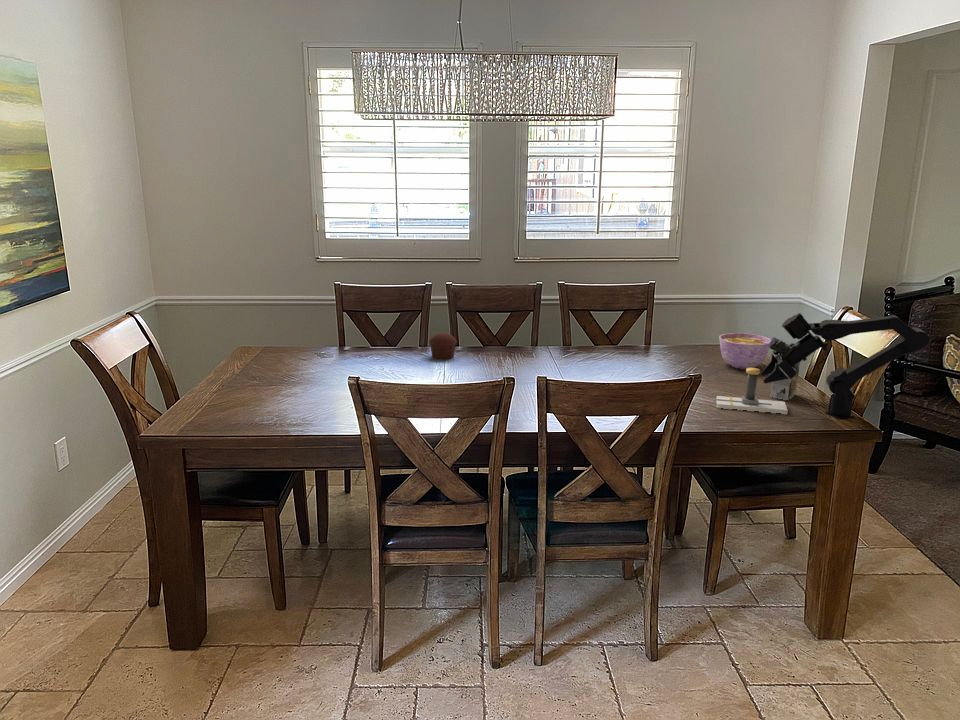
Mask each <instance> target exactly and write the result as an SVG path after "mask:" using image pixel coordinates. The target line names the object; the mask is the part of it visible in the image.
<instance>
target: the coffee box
mask: <svg viewBox="0 0 960 720" xmlns="http://www.w3.org/2000/svg"><path fill="white" fill-rule="evenodd" d="M800 363H801V362H800ZM800 363H798V364H797V365H796V368H794V369H795V370H796V376H795V377H793V378H792V379H790V378H789V379H784V380H779V381H774V382H771V390H770V395H769V396H770V398H772V397H773V399H777V398H778V399H777V400H781V399H783V400H782V401H786V400H788V401H790V400H791V399H792V398H794V395H795V396H796V394H797V387H798V381H799V379H798V378H799V372H800V371H799V370H800V365H801V364H800ZM789 399H790V400H789Z"/></svg>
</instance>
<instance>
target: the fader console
mask: <svg viewBox="0 0 960 720" xmlns="http://www.w3.org/2000/svg"><path fill="white" fill-rule="evenodd" d="M715 401H716V409H721V408H723V410H724V409H725V410H732V409H737V410H736V411H743V410H747V411H746V412H754V411H759V412H758V413H765V412H771V413H770V414H776V413H781V414H780V415H788V407H787V404H786V402H785V401H780V400H770V399H758V404H748V403H742V397H734V396H724V395H717V396H716V398H715Z"/></svg>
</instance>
